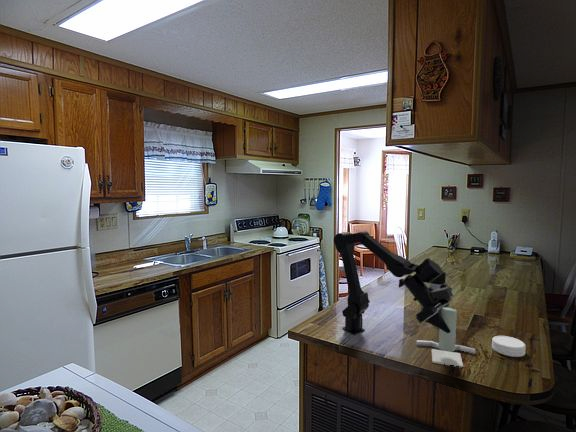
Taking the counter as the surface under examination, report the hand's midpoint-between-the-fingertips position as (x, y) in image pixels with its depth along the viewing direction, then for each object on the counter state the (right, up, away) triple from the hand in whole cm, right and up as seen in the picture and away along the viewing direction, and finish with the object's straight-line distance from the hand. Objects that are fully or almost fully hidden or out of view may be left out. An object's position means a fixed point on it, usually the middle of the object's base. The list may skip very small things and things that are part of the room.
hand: (451, 329), depth 115 cm
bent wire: (+2, -10, +9) cm, 13 cm away
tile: (-1, -10, +2) cm, 10 cm away
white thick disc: (+24, -10, +8) cm, 27 cm away
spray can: (+12, -7, +41) cm, 43 cm away
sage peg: (-1, -7, +1) cm, 7 cm away
